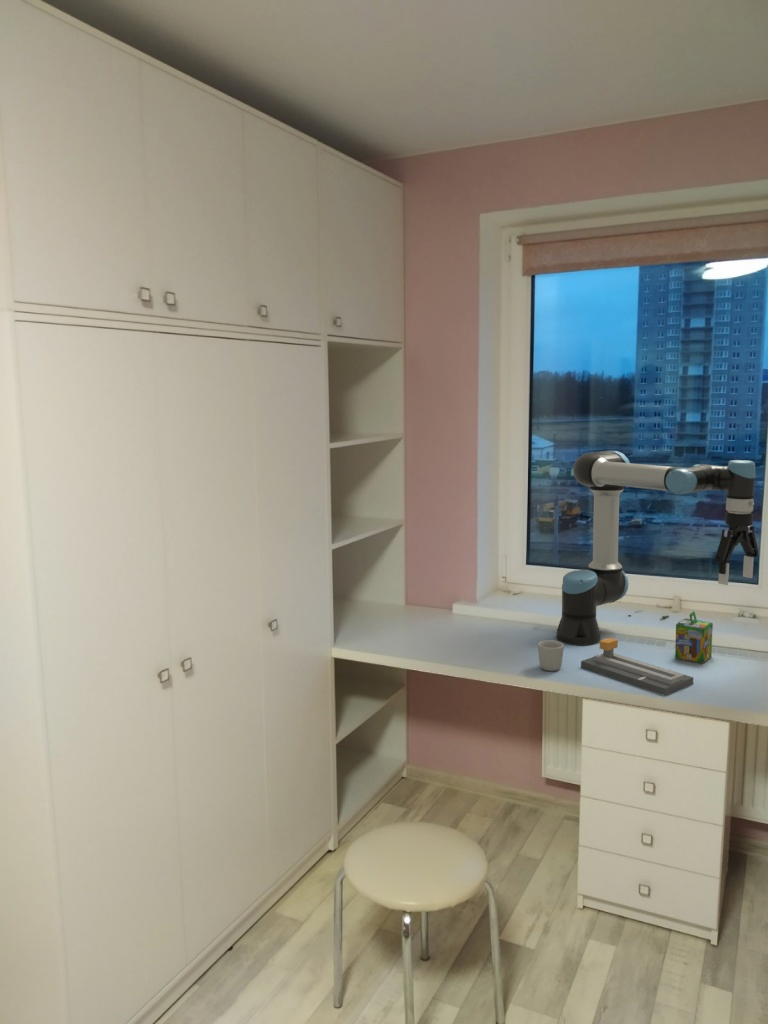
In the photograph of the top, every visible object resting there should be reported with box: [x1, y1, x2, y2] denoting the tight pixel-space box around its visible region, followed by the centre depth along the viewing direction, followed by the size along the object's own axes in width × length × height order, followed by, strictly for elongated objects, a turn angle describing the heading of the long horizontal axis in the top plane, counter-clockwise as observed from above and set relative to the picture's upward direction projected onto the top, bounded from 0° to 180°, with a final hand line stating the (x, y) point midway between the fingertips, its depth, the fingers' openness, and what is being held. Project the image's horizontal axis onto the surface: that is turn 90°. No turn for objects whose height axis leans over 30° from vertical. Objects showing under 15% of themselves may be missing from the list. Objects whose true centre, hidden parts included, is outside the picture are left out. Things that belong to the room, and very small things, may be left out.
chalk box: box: [674, 610, 714, 664], centre depth 255 cm, size 9×9×15 cm
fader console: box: [580, 652, 694, 696], centre depth 241 cm, size 30×14×4 cm, turn 37°
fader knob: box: [599, 637, 619, 659], centre depth 248 cm, size 3×5×6 cm, turn 127°
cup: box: [537, 639, 565, 672], centre depth 249 cm, size 11×8×8 cm
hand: (735, 580), depth 242 cm, fingers open, 13 cm apart
